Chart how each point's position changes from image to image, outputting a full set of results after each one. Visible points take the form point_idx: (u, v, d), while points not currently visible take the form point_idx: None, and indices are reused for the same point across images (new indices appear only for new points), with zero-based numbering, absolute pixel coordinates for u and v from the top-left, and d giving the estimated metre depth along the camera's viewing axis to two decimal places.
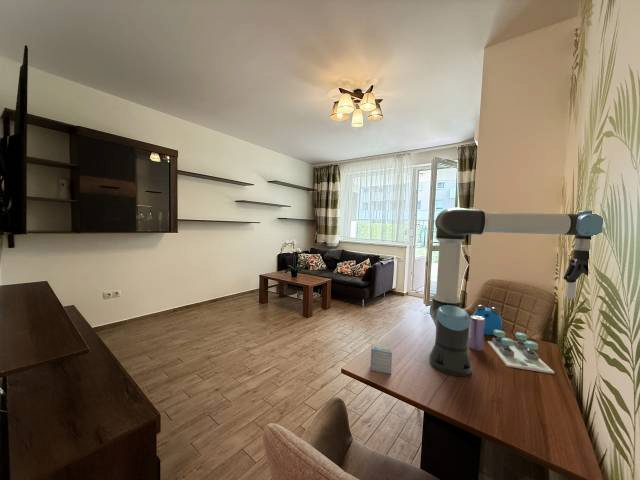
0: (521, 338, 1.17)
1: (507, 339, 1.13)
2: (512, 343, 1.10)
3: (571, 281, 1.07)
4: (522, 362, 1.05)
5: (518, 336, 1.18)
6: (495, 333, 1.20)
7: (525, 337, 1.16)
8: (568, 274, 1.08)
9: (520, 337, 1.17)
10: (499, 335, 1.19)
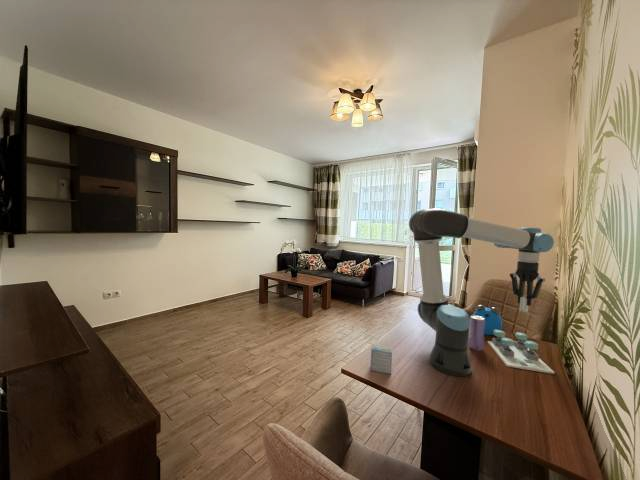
0: (521, 338, 1.17)
1: (507, 339, 1.13)
2: (512, 343, 1.10)
3: (522, 295, 1.18)
4: (522, 362, 1.05)
5: (518, 336, 1.18)
6: (495, 333, 1.20)
7: (525, 337, 1.16)
8: (516, 287, 1.19)
9: (520, 337, 1.17)
10: (499, 335, 1.19)
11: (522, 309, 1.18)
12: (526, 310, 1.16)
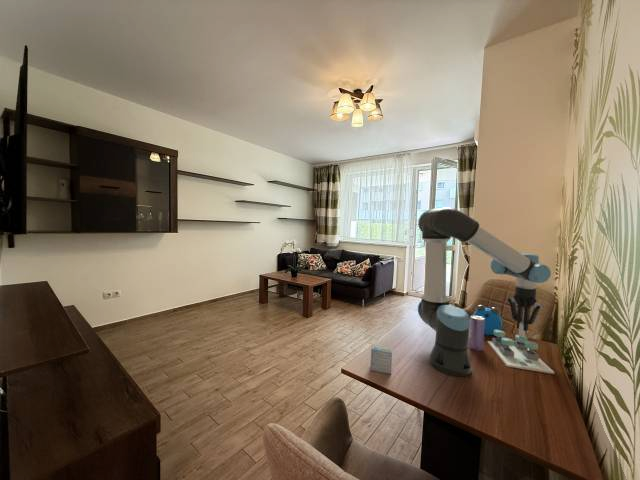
0: (521, 341, 1.17)
1: (507, 339, 1.13)
2: (512, 343, 1.10)
3: (521, 320, 1.19)
4: (522, 362, 1.05)
5: (518, 338, 1.18)
6: (495, 333, 1.20)
7: (525, 340, 1.16)
8: (514, 312, 1.20)
9: (520, 340, 1.17)
10: (499, 335, 1.19)
11: None
12: (523, 335, 1.18)
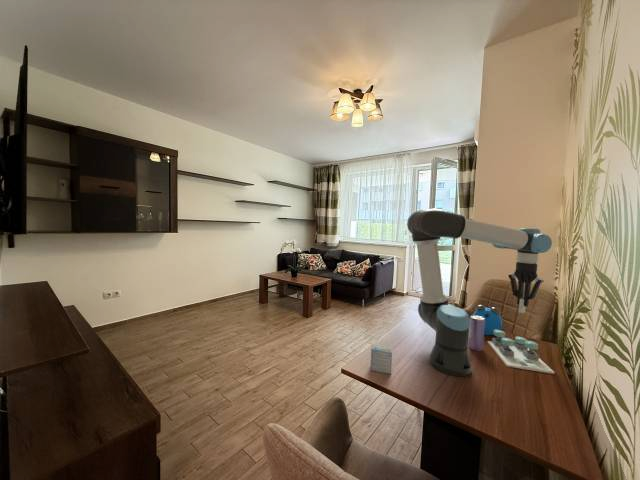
0: (521, 342, 1.17)
1: (507, 339, 1.13)
2: (512, 343, 1.10)
3: (521, 296, 1.17)
4: (522, 362, 1.05)
5: (517, 340, 1.18)
6: (495, 333, 1.20)
7: None
8: (515, 288, 1.19)
9: (520, 341, 1.17)
10: (499, 335, 1.19)
11: None
12: (523, 311, 1.16)
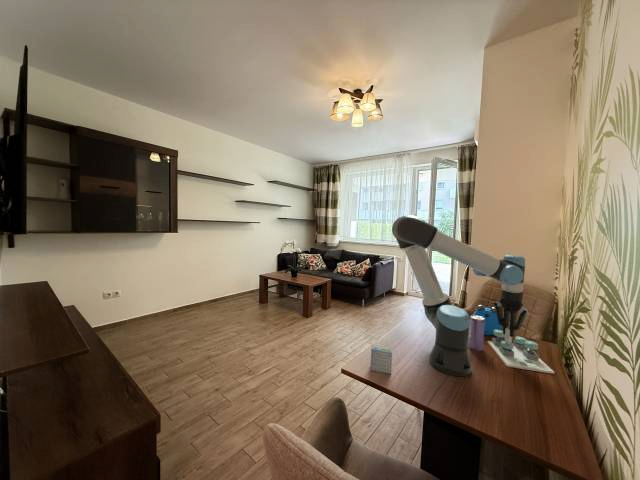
0: (521, 342, 1.17)
1: None
2: (512, 346, 1.10)
3: (507, 325, 1.12)
4: (522, 362, 1.05)
5: (517, 340, 1.18)
6: (495, 333, 1.20)
7: None
8: (500, 317, 1.14)
9: (520, 341, 1.17)
10: (499, 335, 1.19)
11: None
12: (509, 341, 1.11)
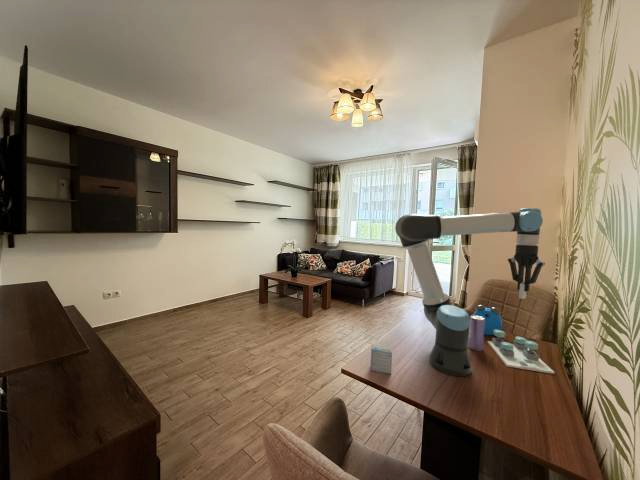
0: (521, 342, 1.17)
1: (507, 343, 1.13)
2: (512, 348, 1.10)
3: (521, 280, 1.11)
4: (522, 362, 1.05)
5: (517, 340, 1.18)
6: (495, 333, 1.20)
7: None
8: (515, 273, 1.12)
9: (520, 341, 1.17)
10: (499, 335, 1.19)
11: None
12: (524, 296, 1.10)
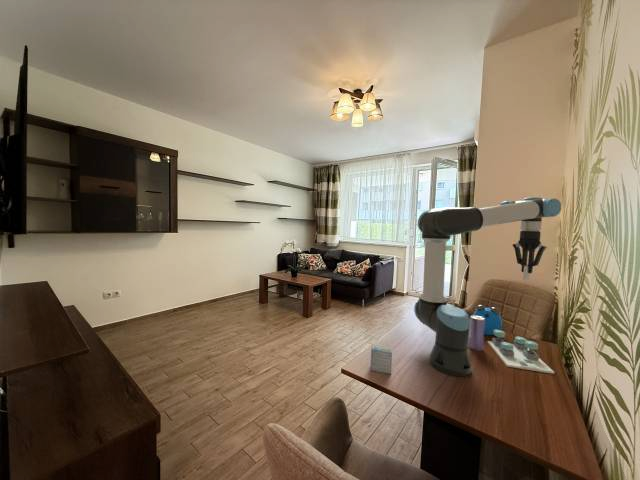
0: (521, 342, 1.17)
1: (507, 343, 1.13)
2: (512, 348, 1.10)
3: (525, 263, 1.22)
4: (522, 362, 1.05)
5: (517, 340, 1.18)
6: (495, 333, 1.20)
7: None
8: (519, 257, 1.23)
9: (520, 341, 1.17)
10: (499, 335, 1.19)
11: None
12: (527, 278, 1.21)
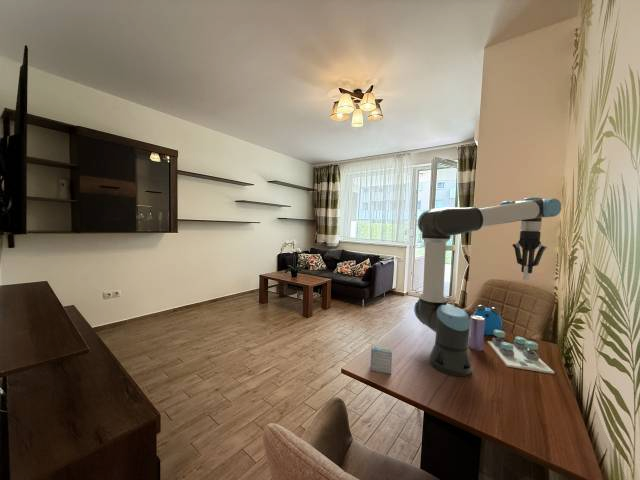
0: (521, 342, 1.17)
1: (507, 343, 1.13)
2: (512, 348, 1.10)
3: (525, 264, 1.22)
4: (522, 362, 1.05)
5: (517, 340, 1.18)
6: (495, 333, 1.20)
7: None
8: (519, 257, 1.23)
9: (520, 341, 1.17)
10: (499, 335, 1.19)
11: None
12: (527, 278, 1.21)
